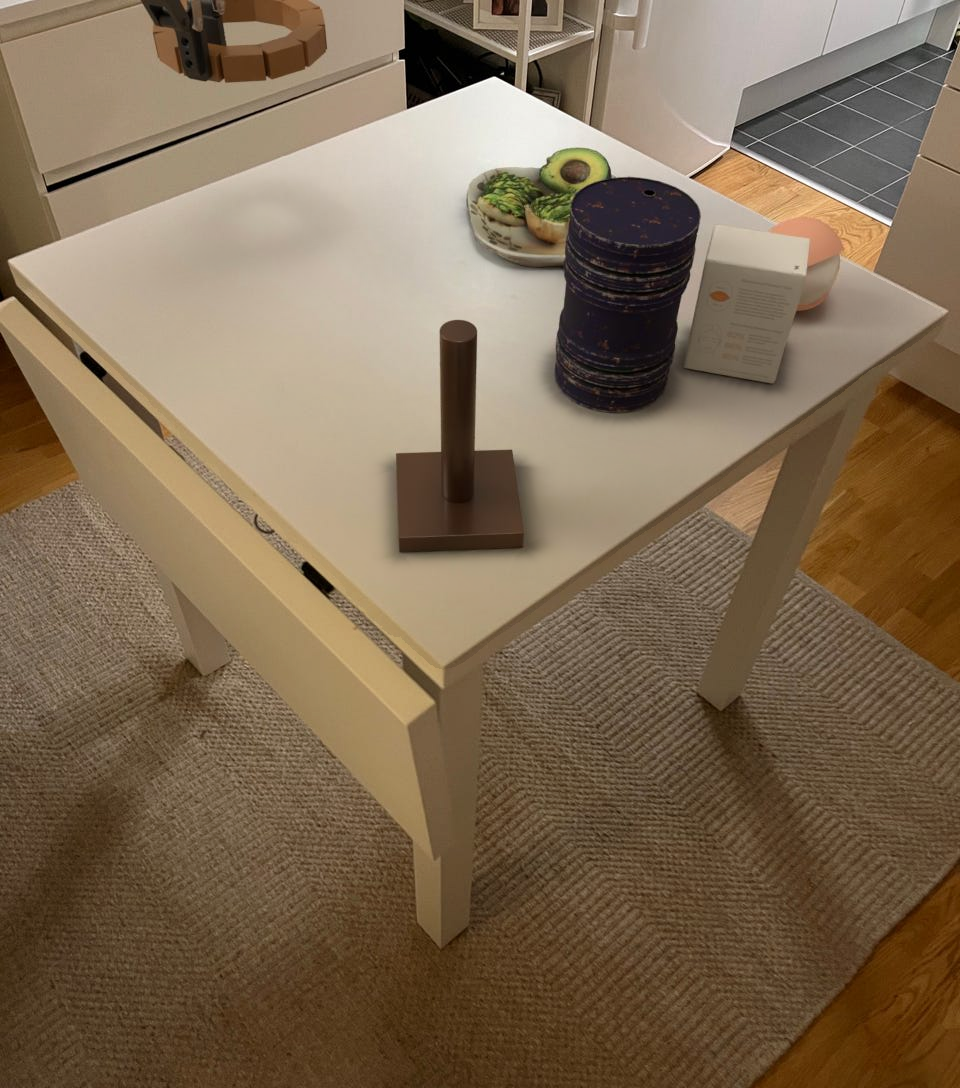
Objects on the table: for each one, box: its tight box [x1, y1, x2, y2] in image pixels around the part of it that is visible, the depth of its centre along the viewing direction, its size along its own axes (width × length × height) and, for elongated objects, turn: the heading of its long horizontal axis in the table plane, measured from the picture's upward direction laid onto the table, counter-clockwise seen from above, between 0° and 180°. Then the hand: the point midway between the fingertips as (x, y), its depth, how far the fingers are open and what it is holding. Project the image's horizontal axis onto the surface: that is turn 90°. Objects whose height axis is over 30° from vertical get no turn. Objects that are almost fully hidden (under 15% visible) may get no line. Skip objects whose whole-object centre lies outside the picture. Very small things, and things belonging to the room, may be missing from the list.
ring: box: [152, 0, 328, 84], centre depth 84 cm, size 14×14×2 cm
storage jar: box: [553, 176, 702, 414], centre depth 79 cm, size 10×10×15 cm
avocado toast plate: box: [465, 147, 617, 268], centre depth 97 cm, size 19×18×5 cm
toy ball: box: [768, 216, 845, 312], centre depth 89 cm, size 8×8×8 cm
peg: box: [395, 319, 525, 553], centre depth 69 cm, size 9×9×16 cm
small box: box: [683, 223, 810, 384], centre depth 83 cm, size 8×6×10 cm
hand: (207, 71), depth 81 cm, fingers closed on ring, 2 cm apart
